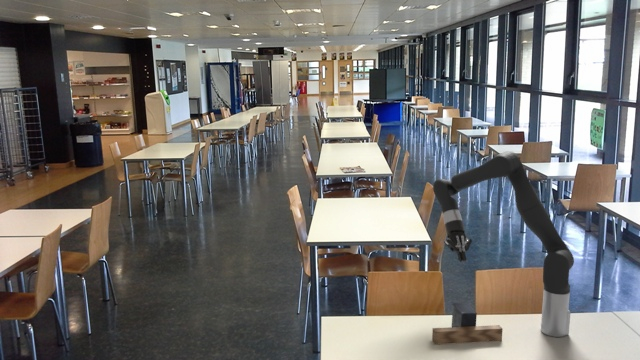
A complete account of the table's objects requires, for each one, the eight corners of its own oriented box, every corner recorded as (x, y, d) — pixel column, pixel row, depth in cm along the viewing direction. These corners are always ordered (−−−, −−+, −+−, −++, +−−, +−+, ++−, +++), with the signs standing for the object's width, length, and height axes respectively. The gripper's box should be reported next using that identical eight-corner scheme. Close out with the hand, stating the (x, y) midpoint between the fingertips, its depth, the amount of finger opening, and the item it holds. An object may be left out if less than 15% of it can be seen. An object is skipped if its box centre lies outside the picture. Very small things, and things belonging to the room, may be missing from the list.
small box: (476, 338, 209) (477, 312, 207) (460, 339, 208) (461, 313, 206) (466, 326, 219) (467, 301, 217) (450, 327, 219) (451, 302, 217)
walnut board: (498, 337, 210) (499, 325, 209) (501, 340, 207) (502, 328, 206) (432, 340, 207) (432, 328, 206) (434, 344, 204) (434, 331, 203)
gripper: (444, 218, 227) (454, 258, 220) (471, 219, 232) (481, 258, 225) (435, 225, 233) (444, 264, 226) (461, 225, 238) (471, 264, 231)
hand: (463, 261), depth 225 cm, fingers closed
